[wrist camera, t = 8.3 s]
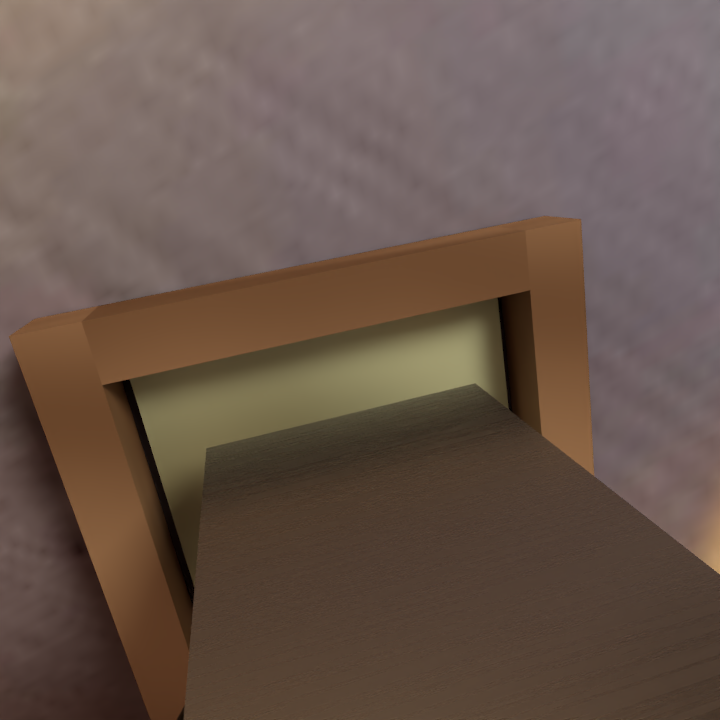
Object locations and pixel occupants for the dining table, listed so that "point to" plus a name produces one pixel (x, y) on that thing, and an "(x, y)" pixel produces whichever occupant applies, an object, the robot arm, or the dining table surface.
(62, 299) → the dining table surface
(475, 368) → the wooden double frame
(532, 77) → the dining table surface
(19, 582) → the dining table surface
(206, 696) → the grey tall block
